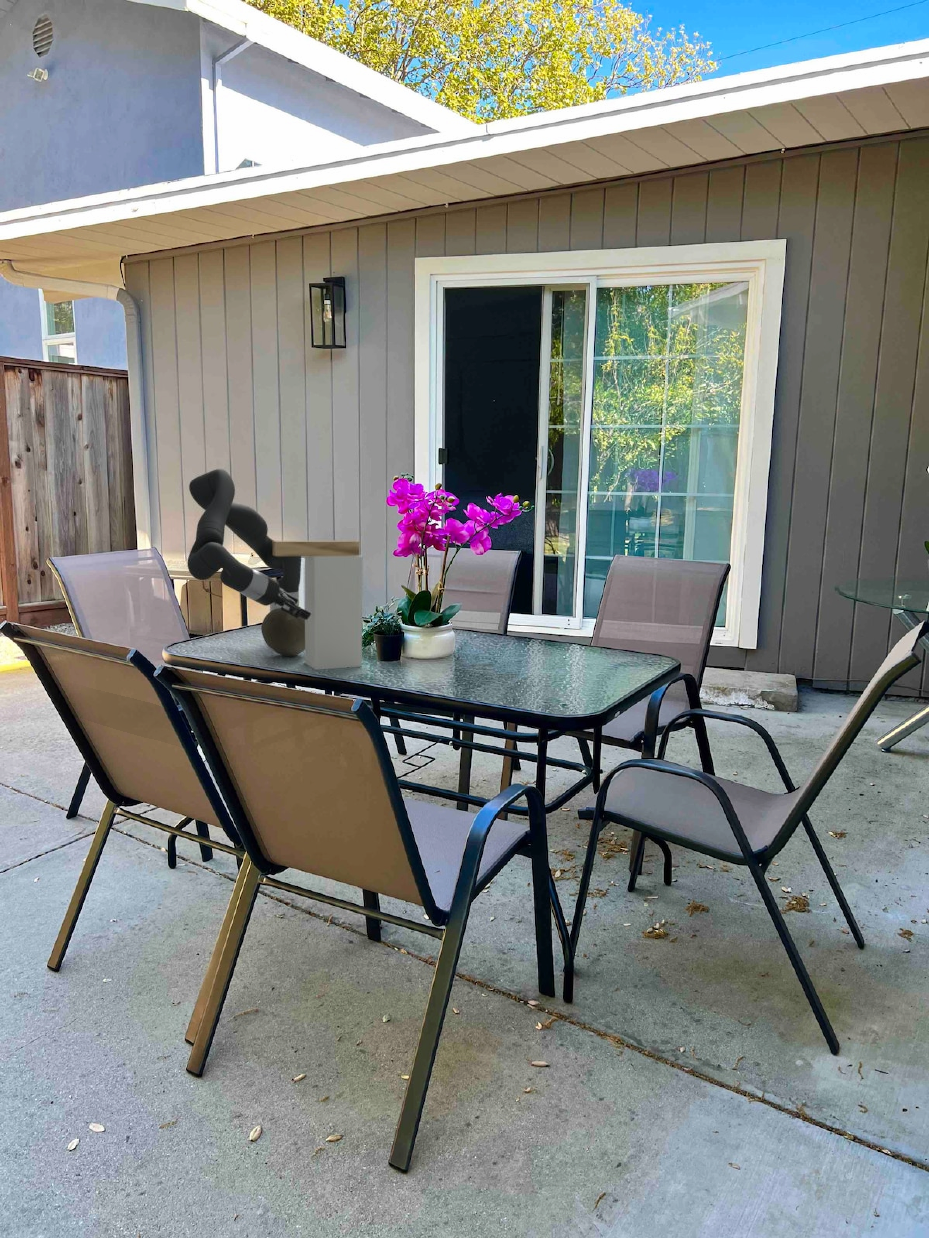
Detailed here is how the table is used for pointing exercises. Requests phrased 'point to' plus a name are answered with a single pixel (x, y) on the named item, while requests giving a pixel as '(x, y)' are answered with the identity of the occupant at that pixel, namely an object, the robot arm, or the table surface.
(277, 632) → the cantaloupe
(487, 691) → the table surface
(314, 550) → the oak slat
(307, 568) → the pedestal
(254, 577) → the robot arm
